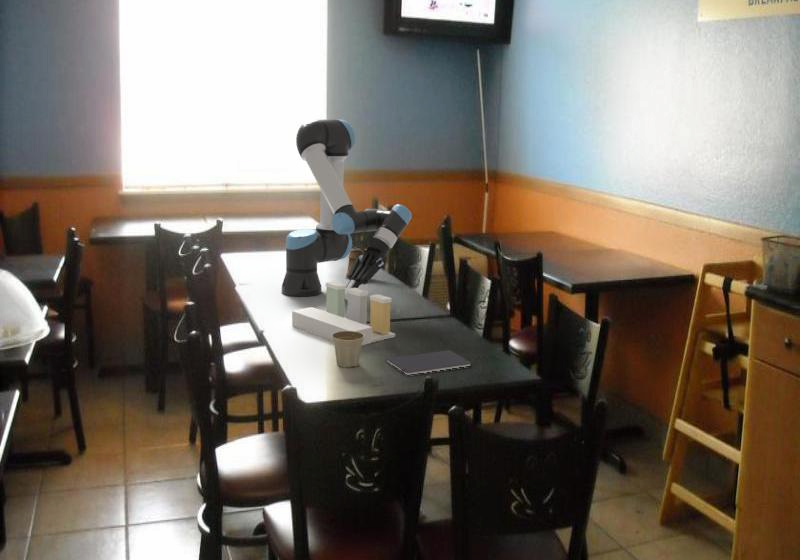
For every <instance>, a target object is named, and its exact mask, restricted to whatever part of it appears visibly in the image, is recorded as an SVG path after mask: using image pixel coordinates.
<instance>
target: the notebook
mask: <svg viewBox="0 0 800 560" xmlns="http://www.w3.org/2000/svg"><path fill="white" fill-rule="evenodd" d="M387 362H389V363H390V364H391V365H390V364H389V363H388V364H389V365H390V366H392V365H393V366H395V367H396V368H398V369H399V370H401V371H402V372H404V373H405V374H407V375H410V374H417V373H424V374H428V373H427V372H430V373H433V372H432V371H437V372H441V371H440V370H444V371H447V370H446V369H451V370H453V369H452V368H457V369H460V368H459V367H464V368H467V367H466V366H470V367H471V364H472V362H471V361H469V360H468V359H466V358H464V357H463V356H461V355H459V354H458V353H455V352H454V351H452V350H449V349H448V350H440V351H435V352H426V353H420V354H412V355H405V356H397V357H389V358H386V359H385V363H387ZM393 366H392V367H393ZM395 367H394V368H395ZM396 368H395V369H396ZM398 369H397V370H398ZM399 370H398V371H399ZM401 371H400V372H401ZM402 372H401V373H402ZM404 373H403V374H404ZM405 374H404V375H405ZM407 375H406V376H407ZM417 375H418V374H417ZM410 376H411V375H410Z"/></svg>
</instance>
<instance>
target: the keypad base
mask: <svg viewBox="0 0 800 560" xmlns="http://www.w3.org/2000/svg"><path fill="white" fill-rule="evenodd" d="M291 316H292V317H291V319H292V320H291V322H292V323H291V324H292V325H291V326H293V327H294V326H295V328H297V329H301V330H303V331H306V332H308V333H311V334H314V335H316V336H320V337H322V338H325V339H328V340H330V341H333V338H332V337H331V335H332V334H333V333H335V332H339V331H357V332H361V333H363V334H364V335H365V337H364V338H363V342H362V345H361V346H364V345H368V344H372V342H373V343H376V341H377V342H380V341H384V339H385V340H387V339H392V338H395V337H396V333H395V332H392V331H390V332H389V333H385V334H381V333H378V332H375V331H372V327H370V324H366V325H364V324H361V323H358V322H355V321H352V320H349V319H348V317H346V316H345V317H344V318H343V317H340V316H337V315H334V314H331V313H328V312H326V311H325V310H321V309H319V308H315V307H313V306H311V307H305V308H300V309H295V310H292V315H291Z"/></svg>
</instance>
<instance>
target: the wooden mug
mask: <svg viewBox="0 0 800 560" xmlns="http://www.w3.org/2000/svg"><path fill="white" fill-rule="evenodd" d="M366 250H367V248H363V250H361V249H351V251H350V253H349V254H348V263H347V264H348V266H347V272H346V275H345V278H346V279H348V280H350V278H349V277H348V275H349V273H350V271H351V268H352V266H353V264H354V262H355V259H356V255H359V256H360V255H363V253H364V252H365V251H366Z"/></svg>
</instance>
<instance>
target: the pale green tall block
mask: <svg viewBox="0 0 800 560" xmlns="http://www.w3.org/2000/svg"><path fill="white" fill-rule="evenodd" d="M346 286H347V285H346V284H345V283H341V282H337V281H329V282H325V287H326V289H325V291H326V295H325V297H326V298H325V302H326V303H325V304H326V305H325V306H326V308H325V310H326V311H325V312H328V313H331V314H334V315H337V316H340V317H343V318H344V317H346V315H345V313H346V311H345V307H346V304H345V301H346V299H345V289H346Z"/></svg>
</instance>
